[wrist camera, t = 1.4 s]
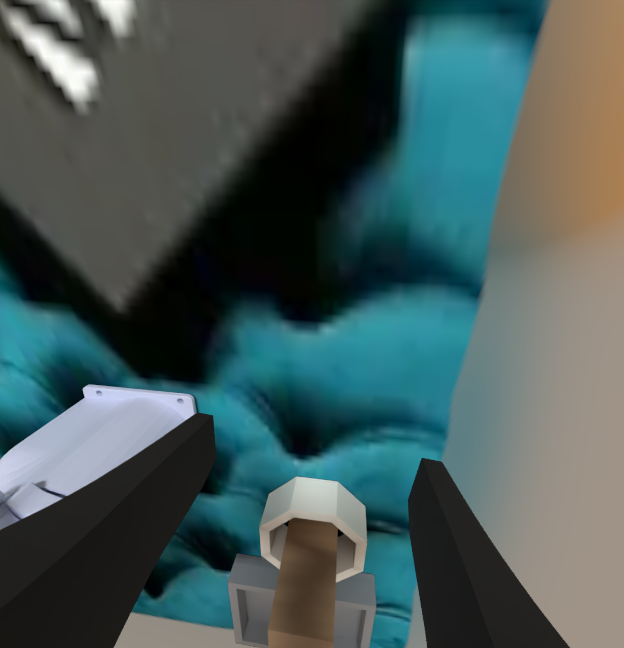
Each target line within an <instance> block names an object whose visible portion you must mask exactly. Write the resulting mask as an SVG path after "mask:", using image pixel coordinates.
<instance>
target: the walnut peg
mask: <svg viewBox="0 0 624 648" xmlns="http://www.w3.org/2000/svg"><path fill="white" fill-rule="evenodd" d="M337 539H338V528H337V527H336V526H335V525H334V524H333V523H331V522H324V521H316V520H309V519H302V518H295V517H294V518H292V519H290V520H289V524H288V529H287V534H286V539H285V544H284V549H283V554H282V559H281V564H280V570H279V575H278V580H277V585H276V590H275V595H274V600H273V605H272V610H271V615H270V620H269V625H268V645H269V648H333V644H334V620H335V593H336V566H337Z"/></svg>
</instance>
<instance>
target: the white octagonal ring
mask: <svg viewBox="0 0 624 648" xmlns="http://www.w3.org/2000/svg"><path fill="white" fill-rule="evenodd" d="M294 517H295V518H302V519H309V520H316V521H324V522H331V523H333V524H334V525H335V526H336V527H337V528H338V529H340V530H341V531H342V532H343V533H344V535H342V536H340V537H338V539H337V566H336V582H339V581H341V580H343V579H346V578H348V577H350V576H353V575H355V574H357V573H360V572H362V571H363V568H364V561H365V554H366V546H367V530H366V512H365V506H364V505H363V504H362V503H361V502H360V501H359V500H358V499H357V498H355V497H354V496H353V495H352V494H351V493H350V492H349V491H348V490H347V489H345V488H344V487H343V486H342V485H341V484H340V483H339V482H337V481H329V480H321V479H313V478H305V477H295V478H293V479H292V480H290V481H289V482H287V483H285V484H284V485H282V486H281V487H279V488H277V489H276V490H274V491H273V492H271V493H269V495H268V499H267V502H266V506H265V509H264V513H263V516H262V520H261V523H260V527H259V528H260V543H261V556H263V557H264V558H265V559H266V560H268V561H269V562H270V563H272V564H273V565H274V566H275V567H277V568H278V569H279V570H280V564H281V559H282V554H283V549H284V544H285V539H286V534H287V529H288V527H287V526H286V525H285V524H283V523H285V522H287V521H289V520H290V519H292V518H294Z"/></svg>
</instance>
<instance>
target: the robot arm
mask: <svg viewBox="0 0 624 648" xmlns="http://www.w3.org/2000/svg"><path fill="white" fill-rule="evenodd" d="M83 393H84V396H85V398H84V399H82V400H81V401H79V402H78V403H77V404H75V405H74V406H72V407H71V408H69V409H68V410H67V411H65V412H64V413H62V414H61V415H59V416H58V417H56V418H55V419H54V420H52V421H51V422H49V423H48V424H46V425H45V426H43V427H42V428H41V429H39V430H38V431H36V432H35V433H33V434H32V435H30V436H29V437H28V438H26V439H25V440H23V441H22V442H20V443H19V444H18V445H16V446H15V447H14V448H12V449H11V450H10V451H9V452H8V453H6V454H5V455H4V456H3V457H2V458H1V460H0V648H113V647H114V646H115V644H116V642H117V639H118V637H119V635H120V633H121V631H122V629H123V627H124V625H125V623H126V621H127V619H128V617H129V615H130V613H131V611H132V609H133V607H134V605H135V603H136V601H137V599H138V597H139V595H140V593H141V591H142V589H143V587H144V585H145V583H146V581H147V579H148V578H149V576H150V574H151V572H152V570H153V568H154V567H155V565H156V563H157V561H158V559H159V558H160V556H161V554H162V553H163V551H164V549H165V548H166V546H167V544H168V543H169V541H170V540H171V538H172V536H173V535H174V533H175V531H176V530H177V528H178V526H179V525H180V523H181V522H182V520H183V518H184V517H185V515H186V513H187V512H188V510H189V508H190V507H191V505H192V503H193V502H194V500H195V498H196V497H197V495H198V493H199V492H200V490H201V488H202V487H203V485H204V483H205V480H206V478H207V476H208V474H209V472H210V470H211V468H212V466H213V463H214V461H215V459H216V448H215V435H214V422H213V415H208V414H203V413H198V412H196V406H195V399H194V397H193V396H192V395H190V394H183V393H172V392H162V391H151V390H141V389H130V388H120V387H109V386H99V385H87V386H86V387H84V388H83ZM181 399H182V400H183V401H182V400H181ZM408 510H409V528H410V539H411V546H412V552H413V558H414V565H415V571H416V577H417V583H418V590H419V595H420V602H421V608H422V614H423V620H424V627H425V634H426V641H427V648H570V647H569V646H568V645H567V643H566V642H565V641H564V640H563V639H562V637H561V636H560V635H559V633H558V632H557V631H556V630H555V628H554V627H553V626H552V624H551V623H550V622H549V621H548V619H547V618H546V617H545V616H544V614H543V613H542V611H541V610H540V609H539V608H538V606H537V605H536V604H535V602H534V601H533V599H532V598H531V597H530V595H529V594H528V593H527V591H526V590H525V589H524V587H523V586H522V585H521V583H520V582H519V580H518V579H517V577H516V576H515V575H514V573H513V572H512V570H511V569H510V568H509V566H508V565H507V563H506V562H505V561H504V559H503V558H502V556H501V555H500V553H499V552H498V550H497V549H496V547H495V546H494V544H493V543H492V541H491V540H490V538H489V537H488V535H487V534H486V532H485V531H484V530H483V528H482V526H481V525H480V523H479V522H478V520H477V518H476V517H475V515H474V514H473V512H472V511H471V509H470V507H469V506H468V504H467V502H466V501H465V499H464V498H463V496H462V494H461V493H460V491H459V489H458V488H457V486H456V484H455V483H454V481H453V479H452V478H451V476H450V474H449V473H448V471H447V469H446V468H445V466H444V464H443V463H442V462H440V461H435V460H430V459H425V458H422V459H421V462H420V465H419V468H418V471H417V474H416V477H415V480H414V483H413V486H412V489H411V492H410V495H409V498H408Z"/></svg>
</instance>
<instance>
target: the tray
mask: <svg viewBox="0 0 624 648" xmlns="http://www.w3.org/2000/svg"><path fill="white" fill-rule="evenodd" d="M278 575H279V569H278V568H277V567H275V566H274V565H273V564H272V563H270V562H269V561H268V560H266V559H265V558H263V557H256V556H250V555H244V554H237V555H236V558H235V561H234V564H233V567H232V570H231V573H230V576H229V579H228V589H229V596H230V604H231V611H232V618H233V625H234V633H235V640H236V643H237V644H243V645H248V646H253V647H259V648H269V645H268V625H269V620H270V615H271V610H272V605H273V600H274V595H275V590H276V585H277V580H278ZM375 611H376V595H375V581H374V575H373V574H366V573H357V574H355V575H353V576H350V577H348V578H346V579H343V580H341V581H339V582H336V593H335V620H334V644H333V648H369V645H370V639H371V634H372V628H373V622H374V617H375Z"/></svg>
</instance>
